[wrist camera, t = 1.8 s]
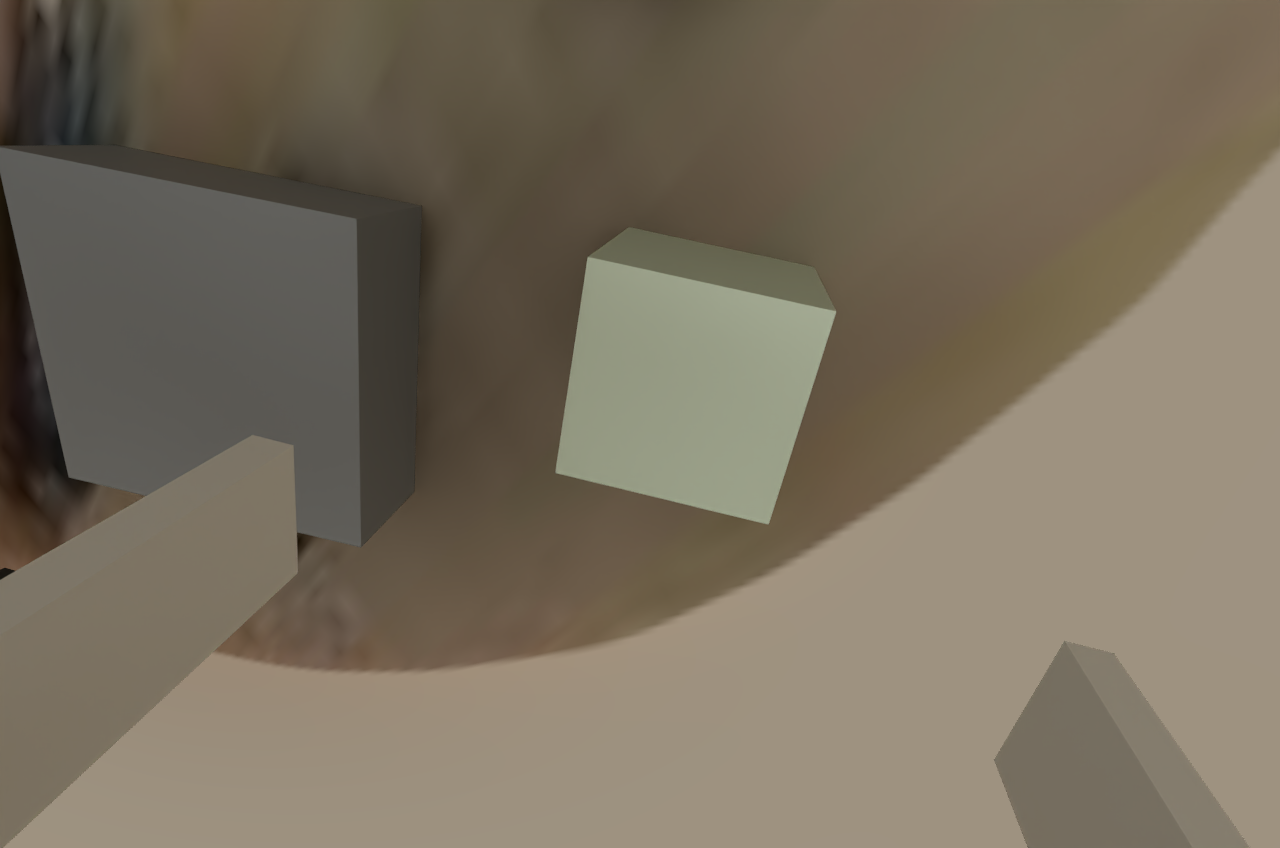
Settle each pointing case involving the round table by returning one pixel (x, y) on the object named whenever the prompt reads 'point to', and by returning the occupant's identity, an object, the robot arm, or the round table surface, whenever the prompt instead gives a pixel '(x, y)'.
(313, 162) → the round table surface
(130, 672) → the robot arm
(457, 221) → the round table surface
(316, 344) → the base block
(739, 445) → the green cube
